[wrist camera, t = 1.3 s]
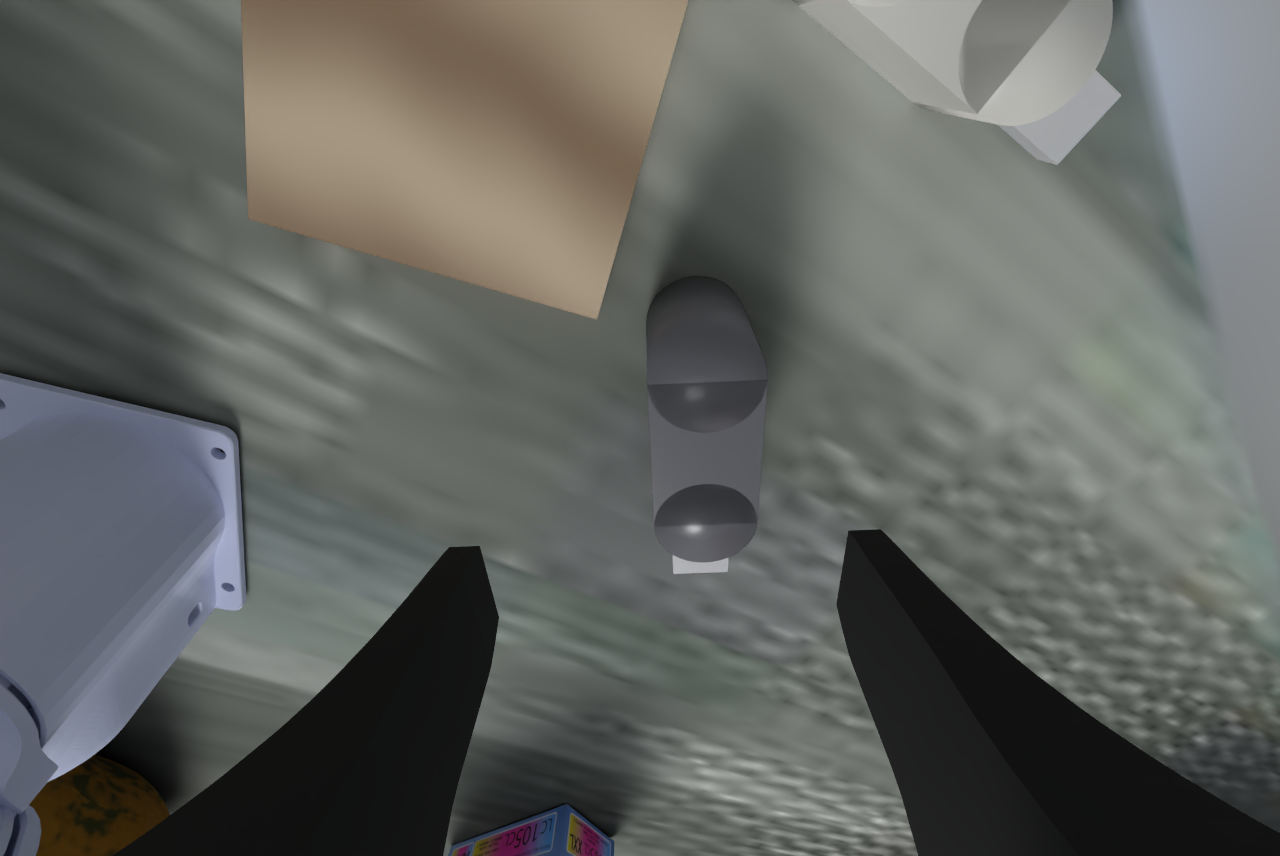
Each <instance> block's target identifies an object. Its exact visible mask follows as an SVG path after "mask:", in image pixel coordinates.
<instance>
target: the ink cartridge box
mask: <svg viewBox="0 0 1280 856" xmlns="http://www.w3.org/2000/svg"><path fill="white" fill-rule="evenodd" d="M448 856H614V841H613V840H612V839H610V838H609V837H608V836H606V835H605V834H604V833H603V832H601V831H600V830H599V829H598V828H596V827H595V826H594V825H593V824H591V823H590V822H589V821H588V820H587V819H585V818H584V817H583V816H582V815H580V814H579V813H578V812H577V811H575V810H574V809H573V808H572V807H571V806H569V805H562V806H559V807H557V808H554V809H552V810H549V811H546V812H543V813H541V814H538V815H535V816H532V817H529V818H527V819H524V820H522V821H519V822H516V823H513V824H511V825H508V826H505V827H502V828H499V829H497V830H494V831H491V832H488V833H485V834H483V835H480V836H477V837H474V838H472V839H469V840H466V841H463V842H460V843H457V844H455V845H453V846H452V847H451V849H450V853H449V855H448Z"/></svg>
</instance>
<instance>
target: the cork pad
mask: <svg viewBox="0 0 1280 856" xmlns="http://www.w3.org/2000/svg"><path fill="white" fill-rule="evenodd" d="M688 1H689V0H241V15H242V45H243V74H244V104H245V134H246V164H247V194H248V219H250V220H253V221H257V222H260V223H264V224H267V225H271V226H274V227H278V228H281V229H285V230H288V231H292V232H295V233H299V234H302V235H306V236H309V237H312V238H316V239H319V240H323V241H326V242H330V243H333V244H337V245H340V246H344V247H347V248H351V249H354V250H358V251H361V252H364V253H368V254H371V255H375V256H378V257H382V258H385V259H389V260H392V261H396V262H399V263H403V264H406V265H410V266H413V267H416V268H420V269H423V270H427V271H430V272H434V273H437V274H441V275H444V276H448V277H451V278H455V279H458V280H462V281H465V282H468V283H472V284H475V285H479V286H482V287H486V288H489V289H493V290H496V291H500V292H503V293H507V294H510V295H514V296H517V297H520V298H524V299H527V300H531V301H534V302H538V303H541V304H545V305H548V306H552V307H555V308H559V309H562V310H566V311H569V312H572V313H576V314H579V315H583V316H586V317H590V318H593V319H597V317H598V314H599V310H600V307H601V303H602V300H603V296H604V293H605V289H606V286H607V282H608V279H609V275H610V272H611V269H612V265H613V262H614V258H615V255H616V251H617V248H618V244H619V241H620V237H621V234H622V230H623V227H624V223H625V220H626V216H627V213H628V209H629V206H630V202H631V199H632V196H633V192H634V189H635V185H636V182H637V178H638V175H639V171H640V168H641V164H642V161H643V157H644V154H645V150H646V147H647V143H648V140H649V136H650V133H651V129H652V126H653V123H654V119H655V116H656V112H657V109H658V105H659V102H660V98H661V95H662V91H663V88H664V84H665V81H666V77H667V74H668V70H669V67H670V63H671V60H672V56H673V53H674V50H675V46H676V43H677V39H678V36H679V32H680V29H681V25H682V22H683V18H684V15H685V11H686V8H687V4H688Z"/></svg>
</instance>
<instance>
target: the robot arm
mask: <svg viewBox="0 0 1280 856" xmlns="http://www.w3.org/2000/svg"><path fill="white" fill-rule="evenodd" d="M218 448H220V449H222V450H223V451H224V452H225V453H223V452H221V451H220V450H219V449H218ZM245 602H246V582H245V563H244V544H243V524H242V505H241V486H240V467H239V447H238V438H237V436H236V434H235V433H234V432H233V431H232V430H231V429H229V428H227V427H225V426H222V425H218V424H214V423H209V422H205V421H201V420H197V419H192V418H188V417H184V416H180V415H176V414H171V413H167V412H163V411H159V410H154V409H150V408H146V407H142V406H137V405H133V404H129V403H125V402H120V401H116V400H112V399H108V398H104V397H99V396H95V395H91V394H87V393H82V392H78V391H74V390H70V389H65V388H61V387H57V386H53V385H49V384H44V383H40V382H36V381H32V380H27V379H23V378H19V377H15V376H10V375H6V374H2V373H0V856H36V853H37V851H38V848H39V842H40V836H41V824H40V819H39V817H38V815H37V813H36V811H35V810H34V808H33V807H31V806H30V805H29V804H30V803H31V802H32V800H33V799H34V798H35V797H36V795H37V794H38V793H39V792H40V790H41V789H42V788H43V787H44V786H45V784H46V783H47V782H49V781H51V780H53V779H55V778H57V777H59V776H61V775H63V774H65V773H66V772H68V771H70V770H72V769H73V768H75V767H77V766H78V765H80V764H81V763H83V762H85V761H86V760H88V759H89V758H90V757H92V756H93V755H94V754H96V753H97V752H98V751H99V750H101V749H102V748H103V747H105V746H106V745H107V744H108V743H109V742H110V741H111V740H112V739H113V738H114V737H115V736H116V735H117V734H118V733H119V732H120V731H121V730H122V729H123V727H124V726H125V725H126V724H127V722H128V721H129V720H130V718H131V717H132V716H133V715H134V713H135V712H136V711H137V709H138V708H139V707H140V705H141V704H142V703H143V701H144V700H145V699H146V698H147V696H148V695H149V694H150V692H151V691H152V690H153V688H154V687H155V686H156V684H157V683H158V682H159V681H160V679H161V678H162V677H163V675H164V674H165V673H166V671H167V670H168V669H169V667H170V666H171V665H172V663H173V662H174V661H175V660H176V658H177V657H178V656H179V654H180V653H181V652H182V650H183V649H184V648H185V646H186V645H187V644H188V643H189V641H190V640H191V639H192V637H193V636H194V635H195V633H196V632H197V631H198V629H199V628H200V627H201V626H202V624H203V623H204V622H205V620H206V619H207V618H208V616H209V615H210V614H211V612H212V611H213V610H214V609H215V608H220V609H225V610H231V611H236V610H239V609H241V608H242V607H243V605H244V604H245ZM837 609H838V613H839V617H840V621H841V625H842V629H843V634H844V637H845V641H846V645H847V649H848V653H849V656H850V659H851V661H852V664H853V667H854V670H855V672H856V675H857V678H858V680H859V683H860V686H861V688H862V691H863V693H864V696H865V699H866V701H867V704H868V707H869V709H870V712H871V714H872V717H873V720H874V722H875V725H876V727H877V730H878V733H879V735H880V738H881V740H882V743H883V746H884V748H885V751H886V753H887V756H888V759H889V761H890V764H891V767H892V769H893V772H894V775H895V778H896V781H897V784H898V787H899V790H900V793H901V796H902V799H903V803H904V806H905V810H906V813H907V817H908V820H909V824H910V828H911V831H912V835H913V838H914V842H915V845H916V849H917V852H918V856H1280V833H1278V832H1277V831H1275V830H1273V829H1271V828H1269V827H1267V826H1266V825H1264V824H1262V823H1260V822H1258V821H1256V820H1255V819H1253V818H1251V817H1249V816H1248V815H1246V814H1244V813H1242V812H1241V811H1239V810H1237V809H1236V808H1234V807H1232V806H1231V805H1229V804H1227V803H1226V802H1224V801H1222V800H1221V799H1219V798H1217V797H1216V796H1214V795H1212V794H1211V793H1209V792H1207V791H1206V790H1204V789H1202V788H1201V787H1199V786H1197V785H1196V784H1194V783H1192V782H1191V781H1189V780H1187V779H1186V778H1184V777H1182V776H1181V775H1179V774H1178V773H1176V772H1175V771H1173V770H1171V769H1170V768H1168V767H1167V766H1165V765H1163V764H1162V763H1160V762H1159V761H1157V760H1156V759H1154V758H1152V757H1151V756H1149V755H1148V754H1146V753H1145V752H1143V751H1142V750H1140V749H1139V748H1137V747H1136V746H1134V745H1133V744H1131V743H1130V742H1129V741H1127V740H1126V739H1124V738H1123V737H1121V736H1120V735H1118V734H1117V733H1115V732H1114V731H1112V730H1111V729H1109V728H1108V727H1106V726H1105V725H1103V724H1102V723H1100V722H1099V721H1098V720H1096V719H1095V718H1093V717H1092V716H1091V715H1089V714H1088V713H1086V712H1085V711H1084V710H1082V709H1081V708H1079V707H1078V706H1077V705H1075V704H1074V703H1073V702H1071V701H1070V700H1069V699H1067V698H1066V697H1065V696H1063V695H1062V694H1061V693H1059V692H1058V691H1057V690H1056V689H1054V688H1053V687H1052V686H1050V685H1049V684H1048V683H1046V682H1045V681H1044V680H1042V679H1041V678H1040V677H1038V676H1037V675H1036V674H1035V673H1033V672H1032V671H1031V670H1030V669H1028V668H1027V667H1026V666H1025V665H1023V664H1022V663H1021V662H1020V661H1019V660H1017V659H1016V658H1015V657H1014V656H1013V655H1011V654H1010V653H1009V652H1008V651H1007V650H1006V649H1004V648H1003V647H1002V646H1001V645H1000V644H999V643H997V642H996V641H995V640H994V639H993V638H992V637H991V636H989V635H988V634H987V633H986V632H985V631H984V630H983V629H982V628H981V627H979V626H978V625H977V624H976V623H975V622H974V621H973V620H972V619H971V618H970V617H969V616H968V615H966V614H965V613H964V612H963V611H962V610H961V609H960V608H959V607H958V606H957V605H956V604H955V603H954V602H953V601H952V600H951V599H950V598H948V597H947V596H946V595H945V594H944V593H943V592H942V591H941V590H940V589H939V588H938V587H937V586H936V585H935V584H934V583H933V582H932V581H931V580H930V579H929V578H928V577H927V576H926V575H925V574H924V573H923V572H922V571H921V570H920V569H919V568H918V567H917V566H916V565H915V564H914V563H913V562H912V561H911V560H910V559H909V558H908V557H907V556H906V555H905V554H904V552H903V551H902V550H901V549H900V548H899V547H898V546H897V545H896V544H895V543H894V542H893V541H892V540H891V539H890V538H889V537H888V536H887V535H886V534H885V533H884V532H883V531H882V530H881V529H879V530H855V531H848V537H847V543H846V549H845V555H844V562H843V568H842V574H841V580H840V586H839V592H838V599H837ZM498 619H499V616H498V612H497V608H496V605H495V601H494V597H493V594H492V590H491V586H490V583H489V579H488V575H487V571H486V568H485V564H484V560H483V557H482V553H481V549H480V546H468V547H449V548H448V549H447V550H446V551H445V552H444V554H443V555H442V556H441V557H440V558H439V560H438V561H437V562H436V563H435V564H434V566H433V567H432V568H431V569H430V570H429V572H428V573H427V574H426V575H425V576H424V578H423V579H422V580H421V581H420V583H419V584H418V585H417V586H416V587H415V589H414V590H413V591H412V592H411V593H410V595H409V596H408V597H407V598H406V599H405V600H404V602H403V603H402V604H401V605H400V606H399V608H398V609H397V610H396V611H395V612H394V613H393V614H392V616H391V617H390V618H389V619H388V620H387V621H386V622H385V624H384V625H383V626H382V627H381V628H380V629H379V630H378V632H377V633H376V634H375V635H374V636H373V637H372V638H371V639H370V640H369V642H368V643H367V644H366V645H365V646H364V647H363V648H362V649H361V650H360V651H359V652H358V653H357V654H356V655H355V656H354V657H353V658H352V660H351V661H350V662H349V663H348V664H347V665H346V666H345V667H344V668H343V669H342V670H341V671H340V672H339V673H338V674H337V675H336V676H335V677H334V678H333V679H332V680H331V681H330V682H329V683H328V684H327V685H326V686H325V687H324V688H323V689H322V690H321V691H320V692H319V693H318V694H317V695H316V696H315V697H314V698H313V699H312V700H311V701H310V702H309V703H308V704H306V705H305V706H304V707H303V708H302V709H301V710H300V711H299V712H298V713H297V714H296V715H295V716H293V717H292V718H291V719H290V720H289V721H288V722H287V723H286V724H285V725H283V726H282V727H281V728H280V729H279V730H278V731H277V732H275V733H274V734H273V735H272V736H271V737H269V738H268V739H267V740H266V741H265V742H263V743H262V744H261V745H260V746H258V747H257V748H256V749H255V750H254V751H252V752H251V753H250V754H249V755H247V756H246V757H245V758H244V759H243V760H241V761H240V762H239V763H238V764H237V765H235V766H234V767H233V768H232V769H230V770H229V771H228V772H227V773H226V774H224V775H223V776H222V777H221V778H219V779H218V780H217V781H215V782H214V783H213V784H212V785H210V786H209V787H208V788H206V789H205V790H204V791H202V792H201V793H200V794H198V795H197V796H196V797H194V798H193V799H192V800H190V801H189V802H188V803H186V804H185V805H184V806H182V807H181V808H180V809H178V810H177V811H175V812H174V813H173V814H171V815H170V816H168V817H167V818H166V819H164V820H163V821H162V822H160V823H159V824H157V825H156V826H155V827H153V828H152V829H150V830H149V831H148V832H146V833H145V834H143V835H142V836H140V837H139V838H137V839H136V840H135V841H133V842H132V843H130V844H129V845H127V846H126V847H124V848H123V849H121V850H120V851H118V852H117V853H115V854H114V855H112V856H443V853H444V848H445V842H446V837H447V832H448V827H449V821H450V816H451V811H452V806H453V802H454V798H455V794H456V790H457V786H458V782H459V778H460V774H461V771H462V767H463V764H464V761H465V757H466V754H467V750H468V747H469V743H470V740H471V736H472V733H473V729H474V726H475V722H476V719H477V715H478V712H479V708H480V705H481V701H482V698H483V694H484V690H485V687H486V683H487V680H488V676H489V672H490V669H491V664H492V658H493V652H494V646H495V640H496V633H497V626H498Z"/></svg>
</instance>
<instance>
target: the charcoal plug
mask: <svg viewBox="0 0 1280 856" xmlns="http://www.w3.org/2000/svg"><path fill="white" fill-rule="evenodd" d="M646 342H647V387H648V408H649V428H650V449H651V470H652V491H653V512H654V529H655V534H656V537H657V539H658V541H659V542H660V544H661V545H662V546H663V547H664V548H665V549H666V550H667V551H668V552H669V553H671V554H672V560H673V574H683V573H712V572H728V557H731V556H733V555H735V554H736V553H738V552H739V551H741V550H742V549H743V548H744V547H746V545H747V544H748V543H749V542H750V541H751V539H752V538H753V536H754V534H755V531H756V528H757V521H758V506H759V492H760V478H761V464H762V450H763V436H764V421H765V407H766V393H767V367H766V363H765V360H764V357H763V355H762V352H761V350H760V347H759V345H758V342H757V340H756V337H755V335H754V332H753V330H752V327H751V325H750V322H749V320H748V317H747V315H746V313H745V310H744V308H743V305H742V303H741V301H740V299H739V297H738V296H737V294H736V293H735V292H734V291H733V290H732V289H731V288H730V287H729V286H727V285H726V284H724V283H723V282H721V281H719V280H716V279H713V278H710V277H704V276H693V277H687V278H682V279H680V280H677V281H675V282H673V283H671V284H669V285H668V286H667V287H665V288H664V289H663V290H662V291H661V292H660V293H659V294H658V295H657V296H656V297H655V299H654V300H653V302H652V304H651V306H650V308H649V311H648V314H647V320H646Z"/></svg>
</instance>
